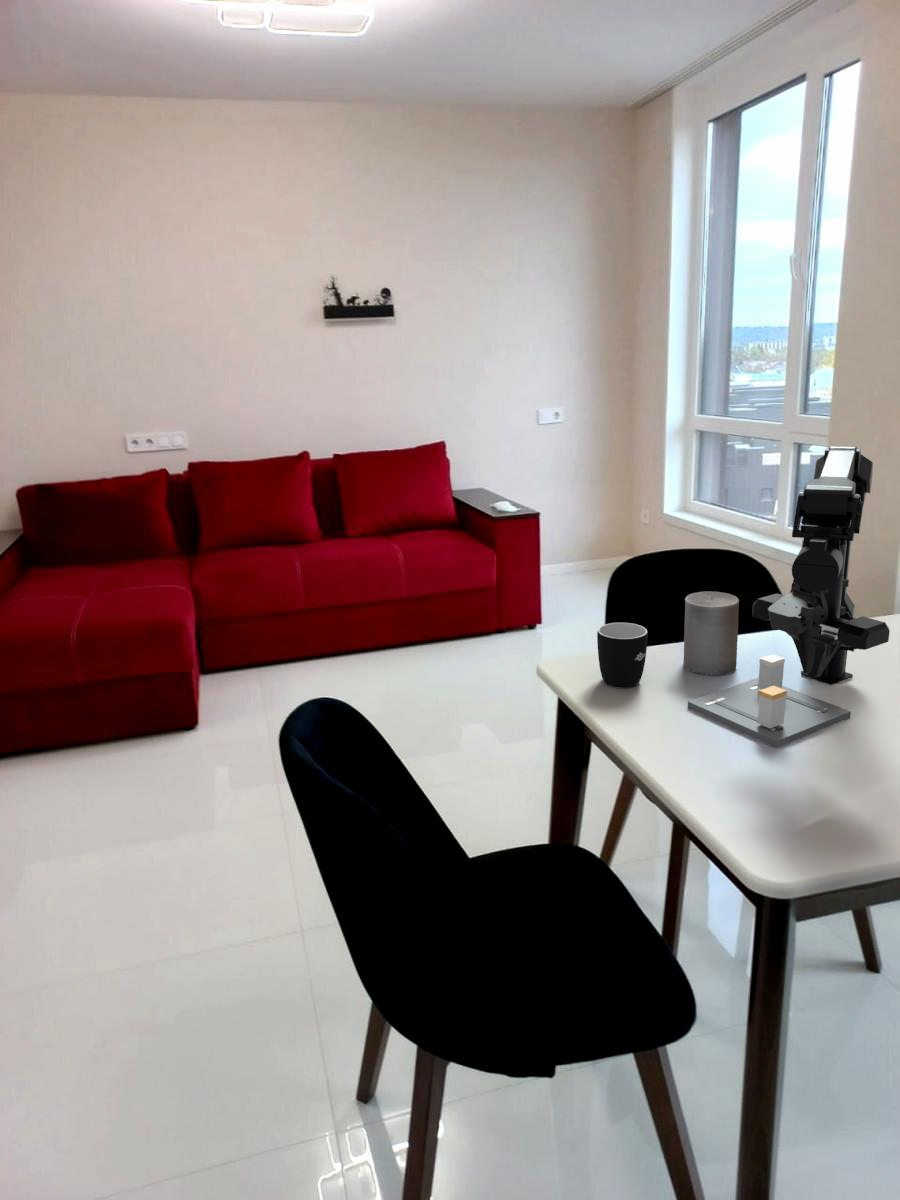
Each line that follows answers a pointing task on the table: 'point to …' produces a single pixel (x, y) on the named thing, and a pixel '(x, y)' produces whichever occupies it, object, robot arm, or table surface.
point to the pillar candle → (711, 633)
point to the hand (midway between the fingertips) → (812, 674)
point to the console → (742, 713)
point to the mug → (622, 653)
